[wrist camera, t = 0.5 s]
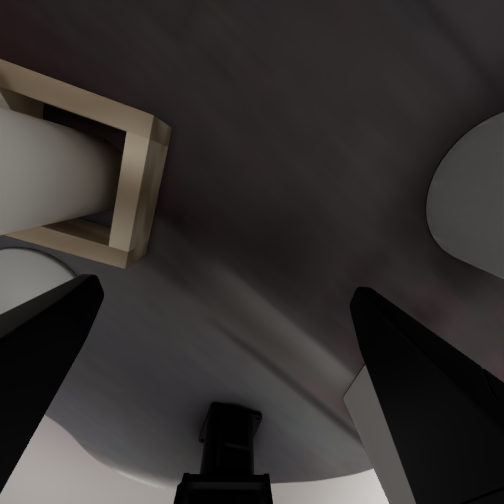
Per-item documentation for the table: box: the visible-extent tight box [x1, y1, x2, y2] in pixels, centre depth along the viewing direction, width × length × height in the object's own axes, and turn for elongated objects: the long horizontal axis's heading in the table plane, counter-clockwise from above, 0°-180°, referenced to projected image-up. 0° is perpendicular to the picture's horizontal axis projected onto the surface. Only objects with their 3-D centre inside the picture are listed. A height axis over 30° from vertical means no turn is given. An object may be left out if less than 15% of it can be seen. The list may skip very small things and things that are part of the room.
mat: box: [0, 247, 77, 314], centre depth 23 cm, size 11×11×1 cm
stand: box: [0, 59, 172, 269], centre depth 18 cm, size 11×11×4 cm
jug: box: [0, 93, 123, 235], centre depth 13 cm, size 9×6×13 cm
